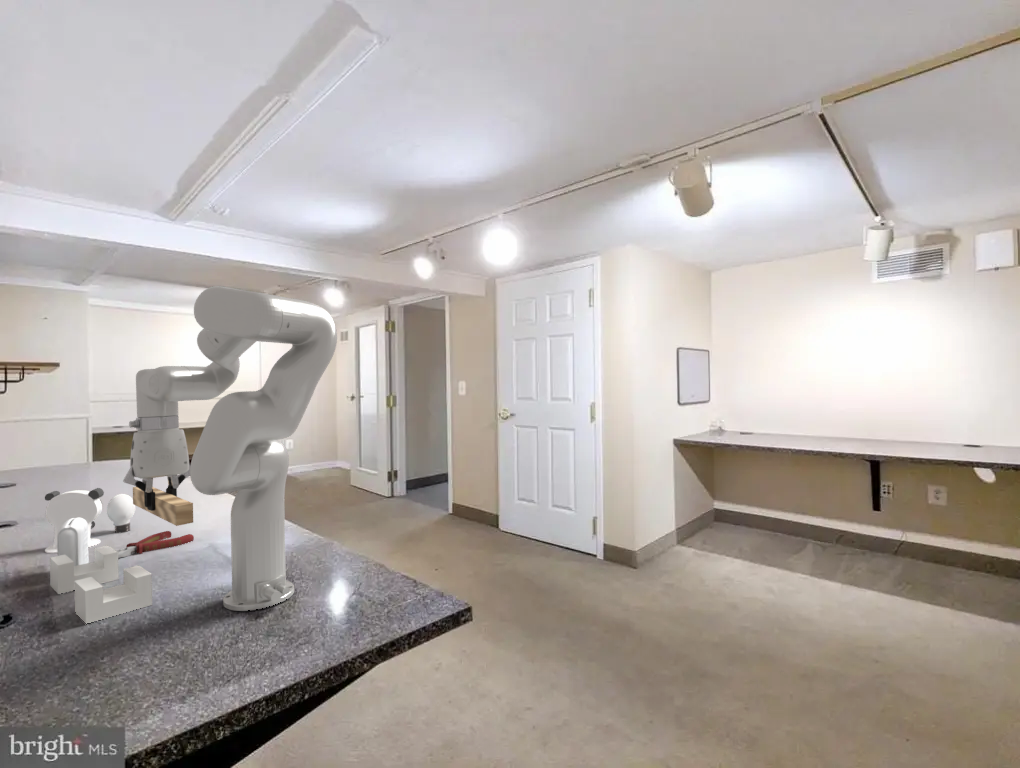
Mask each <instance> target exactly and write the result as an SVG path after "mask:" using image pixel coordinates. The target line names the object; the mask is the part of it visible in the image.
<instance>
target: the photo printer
mask: <svg viewBox="0 0 1020 768" xmlns="http://www.w3.org/2000/svg"><path fill="white" fill-rule="evenodd" d="M56 554H57V555H56V556H60V555H66V556H67V557H69V558H70V559H71V560H72V561H73V562H74V566H77V565H82V564H86V563H90V559H89V558H90V557H89V556H90V555H89V548H88V523H87V521H86V520H85V519H83V518H80V517H78V518H71V519H69V520H67V521H66V522H65V523H64V524H63V525H62V526H61V527H60V529H59V531H58V534H57V553H56Z"/></svg>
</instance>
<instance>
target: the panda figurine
mask: <svg viewBox="0 0 1020 768" xmlns="http://www.w3.org/2000/svg"><path fill="white" fill-rule="evenodd" d="M104 493H105V491H104V490H103V489H102V488H101V487H97V488H96V487H95V488H94V489H91V490H90V491H89V490H86V489H85V490H84V489H82V490H81V489H80V490H79V489H77V490H76V489H75V490H69V491H65V492H63V493H61V492H60V491H59V490H54V491H51V492H49V493H46V494H45V496H44V500H45V501H48V503H47V506H46V508H45V518H46V520H47V522H48V523H49V524H50V525H51V526H53V530H54V531H53V533H54V534H53V535H54V536H53V539H54V541H53V545H50V546H48V547H46V548H45V549H44V552H45V553H46V554H57V534H58V531H59V529H60V527H61V526H62V525H63V524H64V523H65V522H66V521H67V520H69V519H71V518H78V517H80V518H83V519H85V520H86V521H87V523H88V547H90V548H92V547H91V546H93V547H95V546H98V545H99V544H101V542H102V541H101V539H99V538H91V532H92V529H94V528H95V527H96V523H95V520H96V519H97V518H98V517H99V516H100V515H101V513H102V511H103V509H104V508H103V507H104V506H103V505H104V504H103V502H102V500H101V499H100V498H102V497H103V496H104ZM97 544H98V545H97ZM94 545H95V546H94Z"/></svg>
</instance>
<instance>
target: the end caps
mask: <svg viewBox="0 0 1020 768" xmlns="http://www.w3.org/2000/svg"><path fill="white" fill-rule="evenodd" d="M93 550H94V551H93V552H94V553H93V556H94V558H93V559H94V561H90V562H89V563H86V564H82V565H77V566H74V562H73V561H72V560H71V559H70V558H69V557H67V556H66V555H60V556H57V555H56V556H52V557H51V556H50V557H49V575H50V576H49V578H50V579H49V580H50V582H49V585H50V587H51V588H52V589H53V590H54V591H55V592H56V594H57V595H58V594H60V595H62V594H61V593H63V594H66V593H65V592H67V593H70V592H69V591H71V592H74V613H75V612H76V613H75V615H78V616H79V617H80V618H81V619H82V620H83V621H84V622H85V623H86V624H87V623H91V622H94V621H97V622H99V621H98V620H101V621H103V620H102V619H104V620H106V619H105V618H107V619H109V618H108V617H111V618H113V617H112V616H114V617H117V616H120V615H119V614H121V615H124V614H126V612H127V613H131V612H134V611H137V610H140V608H141V609H144V608H146V607H150V606H153V583H152V582H153V580H152V579H153V577H152V576H153V574H152V573H151V572H149V571H148V570H146V569H145V568H143V567H142V566H140V565H134V566H130V567H126V568H123V569H122V571H123V573H122V574H123V584H119V585H115V586H112V587H111V586H110V587H108V588H104V586H103V585H102V584H105V583H110V582H115V581H118V580H119V579H120V576H119V558H118V552H117V550H115V549H114V548H113V547H111V546H109V545H104V546H98V547H95V548H93ZM73 590H75V591H73ZM136 609H137V610H136ZM133 610H134V611H133ZM130 611H131V612H130ZM123 613H124V614H123ZM116 615H117V616H116ZM78 616H77V617H78ZM79 617H78V618H79ZM80 618H79V619H80ZM81 619H80V620H81ZM82 620H81V621H82ZM83 621H82V622H83ZM84 622H83V623H84ZM85 623H84V624H85ZM94 623H95V622H94ZM86 624H85V625H86ZM91 624H92V623H91ZM87 625H88V624H87Z"/></svg>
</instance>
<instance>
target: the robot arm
mask: <svg viewBox="0 0 1020 768" xmlns="http://www.w3.org/2000/svg"><path fill="white" fill-rule="evenodd" d="M193 315H194V319H195V321H196V323H197V324H198V325H199V326H200V327H201V328H202V330H200V331H199V332H198V335H197V337H196V343H197V346H198V349H199V350H200V352H201V354H203V356H205V357H206V359H208V360H210V361H211V363H210V364H208V365H206V366H200V365H199V366H197V365H196V366H193V365H191V366H190V365H189V366H188V365H187V366H186V365H180V366H179V365H163V366H158V367H155V368H145V369H140V370H139V371H138V372H136V374H135V391H136V392H135V393H136V394H135V395H136V417H135V420H133V421H131V420H130V421H129V423H128V427H129V428H131V429H132V428H134V429H136V430H137V432H136V431H135V432H133V435H132V436H133V437H132V441H131V442H132V443H131V448H130V458H129V459H130V462H129V469H128V470H127V473H126V474H125V477H124V478H123V480H122V482H123V483H124V484H127V485H132V486H133V487H138V488H139V489H141V490H142V491H144V504H145V507H147V509H148V510H151V511H154V510H155V492H153V489H152V487H154V486H153V485H154V479H157V478H162V477H163V478H164V477H166V478H167V483H168V484H167V487H166V489H165V492H166V493H168V494H171V495H174V496H176V497H178V491H177V489H178V488H179V486H180V485H181V484H182V483H183V482H184V480H185V479H187V478H189V477H190V482H191V484H192V486H193V487H194V488H195V490H196V491H198V492H199V493H200V494H203V495H206V496H218V495H225V494H229V493H234V492H237V493H236V495H235V496H234V499H233V502H232V504H231V509H230V551H231V554H230V555H231V556H230V557H231V560H230V561H231V590H229V591H228V592H227V593H226V594H225V595H224V596H223V597H222V598H223V599H222V601H223V602H222V604H223V607H224V608H225V609H228V610H229V611H235V612H249V611H248V610H250V611H256V609H258V610H263V609H267V608H270V607H273V605H274V606H275V604H276V605H279V604H281V603H283V602H285V601H287V600H289V599H290V598H291V597H292V596H293V594H294V593H295V585H294V583H292V582H291V581H289V580H287V579H286V578H287V575H286V574H287V573H286V572H287V571H286V570H287V566H286V530H285V529H286V526H285V522H286V521H285V519H286V518H285V516H286V515H285V496H286V495H285V494H286V482H287V476H288V471H289V465H290V456H289V451H288V450H287V447H286V446H285V445H284V443H282V441H280V440H284V439H288V438H289V437H291V436H292V435H294V433H295V432H296V430H297V429H298V427H299V425H300V423H301V421H302V419H303V417H304V416H305V415H304V414H305V413H306V410H307V408H308V405H309V404H310V402H311V400H312V398H313V395H314V392H315V391H316V387H317V385H318V384H319V382H320V380H321V378H322V377H323V374H324V373H325V372H326V370H327V368H328V367H329V364H330V363H331V361H332V359H333V357H334V354H335V351H336V348H337V343H338V333H337V326H336V324H335V323H336V322H335V321H334V319H333V316H332V315H331V314H330V312H328V310H327V309H325V308H324V307H322V306H321V305H318V304H316V303H313V302H311V301H308V300H307V301H306V300H304V299H303V300H302V299H299V298H292V297H286V296H280V295H276V294H270V293H265V292H258V291H251V290H245V289H239V288H234V287H228V286H221V285H214V286H211V287H208V288H206V289H204V290H203V291H201V292H200V293H199V295H198V296H197V297H196V300H195V302H194V306H193ZM256 342H262V343H274V344H276V343H277V344H287V345H288V344H289V345H292V346H291V348H290V349H289V350H288V351H286V352H285V353H284V354H283V355H282V356H281V357H279V359H277V361H276V362H275V364H274V365H273V366H272V367H271V369H270V371H269V373H268V376H267V378H266V381H265V382H264V384H263V386H262V387H261V388H260V389H257V390H253V391H251V390H250V391H247V390H246V391H236V392H231V393H227V394H225V395H224V396H223V397H222V398H220V399H219V400H218V401H217V402H216V403H215V404H214V406H213V407H212V409H211V411H210V413H209V415H208V417H207V420H206V422H205V425H204V427H203V429H202V432H201V435H200V437H199V440H198V442H197V445H196V448H195V450H194V452H193V455H192V458H191V462H190V458H189V450H188V442H187V439H186V434H185V431H184V429H182V428H181V429H180V427H179V426H180V425H179V424H180V423H179V420H180V419H179V402H185V401H186V402H187V401H190V402H191V401H207V400H208V401H209V400H212V399H214V398H217V397H219V396H221V395H222V394H223V393H224V392H225V391H226V390H228V389H229V388H230V387H231V386H232V385H233V384H234V383H235V382H236V380H237V378H238V375H239V372H240V364H241V363H240V357H241V356H242V355H243V354H245V353H246V351H248V349H250V348H251V347H252V346H253V345H254V344H255V343H256ZM135 478H138V479H135ZM139 479H141V480H139ZM286 599H287V600H286ZM280 602H281V603H280ZM278 603H279V604H278ZM269 606H270V607H269ZM266 607H267V608H266ZM262 608H263V609H262Z"/></svg>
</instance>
